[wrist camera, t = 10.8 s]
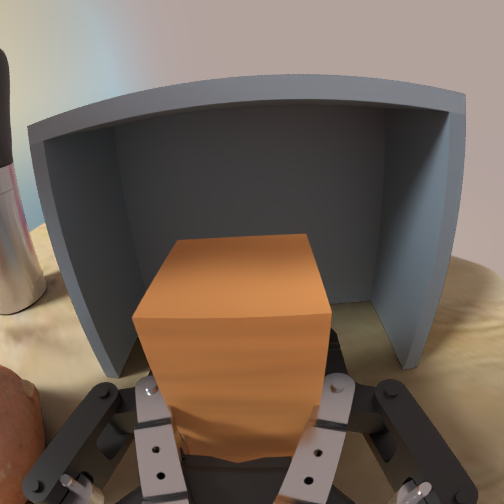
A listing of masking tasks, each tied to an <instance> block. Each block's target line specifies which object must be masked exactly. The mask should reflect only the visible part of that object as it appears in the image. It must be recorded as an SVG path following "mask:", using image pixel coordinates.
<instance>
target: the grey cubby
mask: <svg viewBox="0 0 504 504" xmlns="http://www.w3.org/2000/svg"><path fill="white" fill-rule="evenodd" d="M27 128H28V136H29V144H30V151H31V157H32V163H33V169H34V175H35V179H36V185H37V189H38V194H39V198H40V203H41V207H42V211H43V215H44V219H45V223H46V227H47V230H48V234H49V237H50V241H51V244H52V247H53V251H54V254H55V257H56V260H57V263H58V266H59V269H60V272H61V275H62V277H63V280H64V283H65V286H66V288H67V291H68V294H69V296H70V299H71V301H72V304H73V306H74V309H75V311H76V314H77V316H78V318H79V321H80V323H81V325H82V328H83V330H84V332H85V334H86V336H87V339H88V341H89V343H90V345H91V347H92V349H93V351H94V353H95V355H96V357H97V359H98V361H99V363H100V365H101V367H102V369H103V371H104V373H105V375H106V376H107V377H114V378H119V377H120V374H121V372H122V370H123V368H124V365H125V363H126V361H127V359H128V357H129V354H130V352H131V350H132V348H133V346H134V344H135V342H136V339H137V337H138V334H137V331H136V328H135V325H134V323H133V320H132V316H133V314H134V313H135V311H136V309H137V307H138V305H139V304H140V302H141V300H142V298H143V297H144V295H145V293H146V291H147V290H148V288H149V286H150V285H151V283H152V281H153V279H154V278H155V276H156V274H157V273H158V271H159V269H160V268H161V266H162V264H163V263H164V261H165V259H166V258H167V256H168V254H169V253H170V251H171V250H172V248H173V246H174V245H175V243H176V241H177V240H188V239H206V238H225V237H244V236H265V235H287V234H306V235H307V238H308V241H309V244H310V246H311V249H312V252H313V255H314V258H315V261H316V264H317V267H318V270H319V273H320V276H321V279H322V283H323V286H324V289H325V292H326V295H327V298H328V301H329V304H337V303H350V302H362V301H371V302H372V304H373V306H374V308H375V311H376V313H377V315H378V317H379V319H380V321H381V323H382V325H383V327H384V329H385V331H386V333H387V336H388V338H389V340H390V342H391V344H392V346H393V349H394V351H395V353H396V355H397V357H398V360H399V362H400V364H401V366H402V369H403V370H405V369H410V368H416V367H417V364H418V362H419V359H420V357H421V354H422V351H423V349H424V346H425V343H426V340H427V338H428V335H429V332H430V329H431V326H432V323H433V320H434V316H435V313H436V310H437V307H438V303H439V300H440V296H441V293H442V289H443V285H444V282H445V278H446V274H447V269H448V265H449V261H450V256H451V252H452V247H453V242H454V237H455V231H456V225H457V219H458V213H459V206H460V199H461V191H462V180H463V170H464V158H465V137H466V98H465V94H463V93H459V92H455V91H451V90H446V89H441V88H436V87H431V86H426V85H420V84H414V83H408V82H401V81H394V80H386V79H377V78H368V77H357V76H356V77H355V76H341V75H318V74H284V75H257V76H242V77H230V78H221V79H211V80H203V81H196V82H189V83H182V84H176V85H170V86H165V87H159V88H154V89H149V90H145V91H140V92H135V93H131V94H126V95H122V96H119V97H114V98H111V99H107V100H103V101H100V102H96V103H93V104H89V105H86V106H83V107H79V108H76V109H73V110H70V111H67V112H64V113H61V114H58V115H55V116H53V117H50V118H47V119H45V120H42V121H39V122H37V123H34V124H32V125H29V126H27Z"/></svg>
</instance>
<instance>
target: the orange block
mask: <svg viewBox="0 0 504 504" xmlns="http://www.w3.org/2000/svg"><path fill="white" fill-rule="evenodd" d="M331 319H332V311H331V308H330V305H329V301H328V298H327V295H326V292H325V289H324V286H323V283H322V279H321V276H320V273H319V270H318V267H317V264H316V261H315V258H314V255H313V252H312V249H311V246H310V244H309V241H308V238H307V235H306V234H287V235H265V236H244V237H225V238H206V239H188V240H177V241H176V243H175V245H174V246H173V248H172V250H171V251H170V253H169V254H168V256H167V258H166V259H165V261H164V263H163V264H162V266H161V268H160V269H159V271H158V273H157V274H156V276H155V278H154V279H153V281H152V283H151V285H150V286H149V288H148V290H147V291H146V293H145V295H144V297H143V298H142V300H141V302H140V304H139V305H138V307H137V309H136V311H135V313H134V314H133V316H132V320H133V323H134V325H135V328H136V331H137V334H138V337H139V339H140V342H141V345H142V348H143V350H144V353H145V355H146V358H147V361H148V363H149V366H150V368H151V371H152V373H153V376H154V378H155V380H156V383H157V385H158V387H159V390H160V392H161V394H162V397H163V399H164V401H165V403H166V405H170V406H171V408H172V410H173V412H174V417H175V422H176V426H177V429H178V431H179V433H180V434H184V436H185V438H186V440H187V444H188V448H189V452H190V454H191V455H202V456H212V457H216V458H219V459H223V460H227V461H231V462H235V463H241V462H246V461H250V460H255V459H259V458H264V457H283V456H292V459H293V457H294V454H295V452H296V449H297V446H298V444H299V441H300V438H301V435H302V433H303V430H304V427H305V424H306V422H307V420H309V418H310V415H311V412H312V409H313V406H315V405H320V401H321V395H322V388H323V382H324V375H325V368H326V361H327V353H328V345H329V337H330V328H331Z"/></svg>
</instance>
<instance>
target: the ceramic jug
mask: <svg viewBox="0 0 504 504" xmlns="http://www.w3.org/2000/svg"><path fill="white" fill-rule="evenodd" d="M44 450H45V434H44V426H43V420H42V415H41V406H40V398H39V393H38V391H37V389H36V387H35V385H34V384H33V383H31V382H29V381H27V380H22V379H21V378H20V377H19V376H18V375H17V374H16V373H14V372H13V371H12V370H10V369H8V368H6V367H4V366H1V365H0V504H25V503H26V501H27V500H28V499H27V498H26V497H25V495H24V494H23V491H22V482H23V479H24V478H25V476H26V475H27V473H28V472H29V471H30V469H31V468H32V467H33V465H34V464H35V462H36V461H37V460H38V458H39V457H40V456H41V454H42V453H43V452H44Z"/></svg>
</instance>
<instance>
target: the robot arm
mask: <svg viewBox="0 0 504 504" xmlns="http://www.w3.org/2000/svg"><path fill="white" fill-rule="evenodd" d="M9 77H10V76H9V66H8V61H7V57H6V55H5V53H4V52H3V51H2V50H1V49H0V314H11V313H15V312H18V311H20V310H22V309H24V308H26V307H28V306H30V305H31V304H33V303H34V302H35V301H37V300H38V299H39V298H40V297H41V296H42V295H43V293H44V292H45V290H46V287H47V283H46V281H45V278H44V275H43V272H42V270H41V267H40V264H39V261H38V258H37V255H36V252H35V249H34V246H33V242H32V239H31V236H30V232H29V229H28V225H27V222H26V218H25V214H24V211H23V206H22V202H21V198H20V193H19V189H18V186H17V179H16V174H15V168H14V164H12V163H13V157H12V139H11V126H10V106H9V105H10V78H9ZM346 431H354V432H361V433H363V435H364V437H365V439H366V441H367V443H368V444H369V446H370V448H371V450H372V452H373V453H374V455H375V457H376V459H377V461H378V463H379V464H380V466H381V468H382V470H383V472H384V474H385V475H386V477H387V479H388V481H389V483H390V485H391V486H392V488H393V490H394V492H395V494H394V495H393V496H392V497H391V499H390V501H389V504H476V503H477V500H478V491H477V488H476V487H475V485H474V484H473V482H472V480H471V479H470V477H469V476H468V474H467V473H466V471H465V470H464V468H463V467H462V466H461V464H460V463H459V461H458V460H457V458H456V457H455V455H454V454H453V452H452V451H451V449H450V448H449V447H448V445H447V444H446V442H445V441H444V439H443V438H442V437H441V435H440V434H439V432H438V431H437V429H436V428H435V427H434V425H433V424H432V422H431V421H430V420H429V418H428V417H427V415H426V414H425V413H424V411H423V410H422V409H421V407H420V406H419V404H418V403H417V402H416V400H415V399H414V398H413V396H412V395H411V393H410V392H409V391H408V389H407V388H406V387H405V386H404V384H402V383H401V382H399V381H397V380H392V379H389V380H384V381H382V382H380V383H379V384H378V385H377V386H376V387H373V386H365V385H361V384H358V383H356V382H354V381H353V379H352V378H351V377H350V376H349V375H348V373H347V369H346V366H345V362H344V358H343V355H342V351H341V348H340V344H339V341H338V337H337V334H336V332H335V331H334V330H333V329H332V328H330V337H329V345H328V353H327V361H326V368H325V375H324V382H323V388H322V395H321V401H320V405H315V406H313V409H312V412H311V415H310V418H309V420H307V422H306V424H305V427H304V430H303V433H302V435H301V438H300V441H299V444H298V446H297V449H296V452H295V454H294V457H293V459H292V456H283V457H264V458H259V459H255V460H250V461H246V462H241V463H235V462H231V461H227V460H223V459H219V458H216V457H212V456H202V455H190V452H189V448H188V444H187V440H186V438H185V436H184V434H180V433H179V431H178V429H177V426H176V422H175V417H174V412H173V410H172V408H171V406H170V405H166V403H165V401H164V399H163V397H162V394H161V392H160V390H159V387H158V385H157V383H156V380H155V378H154V376H153V373H152V371H151V369H150V372H149V374H148V376H146V377H144V378H142V379H141V380H139V381H138V383H137V384H136V387H133V388H127V389H121V390H118V389H117V387H116V386H115V385H114V384H112V383H109V382H104V383H100V384H98V385H96V386H95V387H93V388H92V390H91V391H90V392H89V393H88V395H87V396H86V397H85V398H84V400H83V401H82V402H81V404H80V405H79V406H78V407H77V409H76V410H75V411H74V412H73V414H72V415H71V416H70V418H69V419H68V420H67V421H66V423H65V424H64V425H63V427H62V428H61V429H60V431H59V432H58V433H57V434H56V436H55V437H54V438H53V440H52V441H51V442H50V444H49V445H48V446H47V448H46V449H45V450H44V452H43V453H42V454H41V456H40V457H39V458H38V460H37V461H36V462H35V464H34V465H33V467H32V468H31V469H30V471H29V472H28V473H27V475H26V476H25V478H24V479H23V482H22V491H23V494H24V495H25V497H26V498H27V499H28V500H30V501H31V502H33V503H35V504H104V495H103V492H102V489H103V488H104V486H105V484H106V483H107V481H108V480H109V478H110V476H111V475H112V473H113V471H114V470H115V468H116V467H117V465H118V463H119V462H120V460H121V459H122V457H123V455H124V454H125V452H126V450H127V449H128V447H129V446H130V444H131V442H132V441H133V439H134V438H135V444H136V453H137V461H138V468H139V475H140V482H141V485H140V486H139V487H137V488H136V489H135V490H133V491H132V492H131V493H129V494H128V495H126V496H125V497H124V498H122V499H121V500H120V501H118V502H117V503H115V504H355V503H354V502H353V501H352V500H350V499H349V498H348V497H347V496H346V495H344V494H343V493H342V492H341V491H340V490H339V489H337V488H336V487H335V486H334V485H333V484H332V482H333V479H334V476H335V472H336V469H337V465H338V462H339V458H340V455H341V451H342V447H343V443H344V439H345V435H346Z"/></svg>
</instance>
